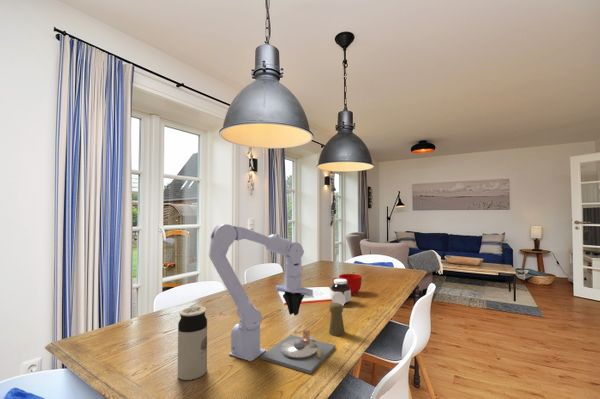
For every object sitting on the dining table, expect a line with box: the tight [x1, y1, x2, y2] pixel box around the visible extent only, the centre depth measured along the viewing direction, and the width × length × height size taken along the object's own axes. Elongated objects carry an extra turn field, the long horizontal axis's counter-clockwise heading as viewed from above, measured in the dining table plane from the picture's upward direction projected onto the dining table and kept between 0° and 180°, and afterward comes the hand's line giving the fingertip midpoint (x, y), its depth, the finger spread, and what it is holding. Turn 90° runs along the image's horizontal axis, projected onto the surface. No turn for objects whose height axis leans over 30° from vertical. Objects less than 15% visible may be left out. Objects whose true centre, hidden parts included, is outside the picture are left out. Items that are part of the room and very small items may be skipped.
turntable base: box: [260, 334, 336, 375], centre depth 92 cm, size 18×18×4 cm
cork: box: [328, 302, 346, 337], centre depth 109 cm, size 6×6×11 cm
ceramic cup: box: [331, 273, 363, 296], centre depth 163 cm, size 13×17×10 cm
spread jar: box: [330, 278, 352, 307], centre depth 144 cm, size 12×11×12 cm
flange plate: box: [281, 329, 318, 359], centre depth 94 cm, size 12×15×4 cm
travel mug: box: [177, 305, 208, 381], centre depth 82 cm, size 8×8×18 cm
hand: (293, 314), depth 100 cm, fingers closed
